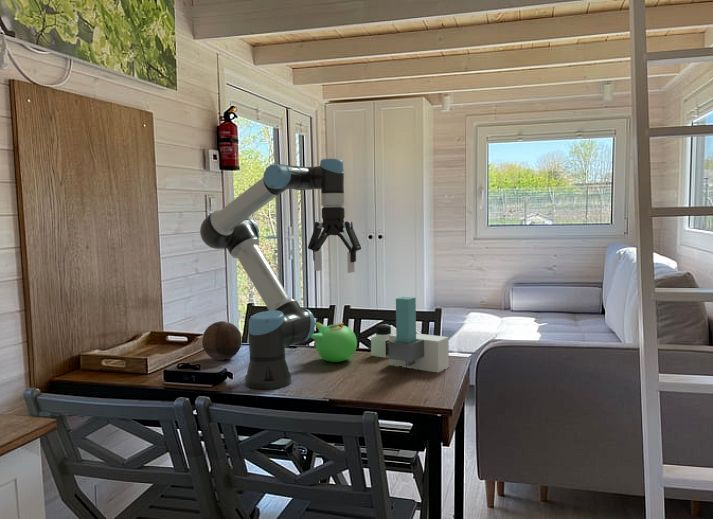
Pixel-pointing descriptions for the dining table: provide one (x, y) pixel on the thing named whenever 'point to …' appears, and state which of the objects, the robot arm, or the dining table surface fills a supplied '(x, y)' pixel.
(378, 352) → the medicine bottle
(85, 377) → the dining table surface
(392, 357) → the box
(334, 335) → the green round body
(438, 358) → the stand
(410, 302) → the rail post
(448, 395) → the dining table surface
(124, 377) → the dining table surface
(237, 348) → the wooden sphere
